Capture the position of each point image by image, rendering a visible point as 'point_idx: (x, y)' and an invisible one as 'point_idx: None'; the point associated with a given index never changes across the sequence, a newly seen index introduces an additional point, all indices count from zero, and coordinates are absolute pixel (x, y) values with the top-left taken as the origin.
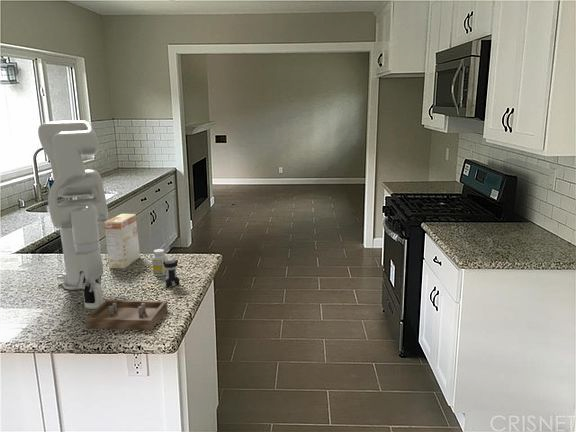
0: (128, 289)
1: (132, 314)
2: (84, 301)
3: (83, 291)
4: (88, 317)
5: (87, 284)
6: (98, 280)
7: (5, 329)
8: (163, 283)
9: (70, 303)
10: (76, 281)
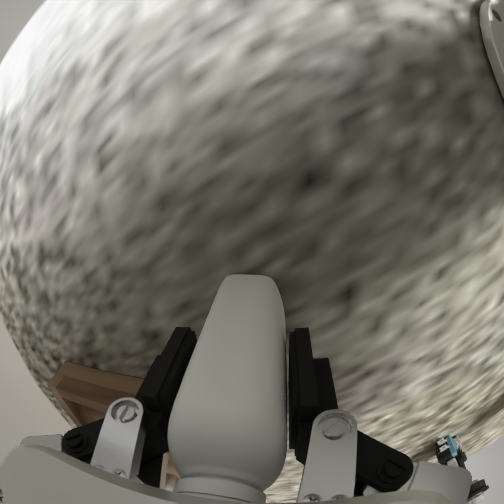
0: (472, 357)
1: (172, 466)
2: (218, 296)
3: (117, 407)
4: (58, 392)
5: (180, 464)
6: (296, 501)
7: (3, 61)
8: (442, 448)
9: (297, 108)
10: (10, 460)
